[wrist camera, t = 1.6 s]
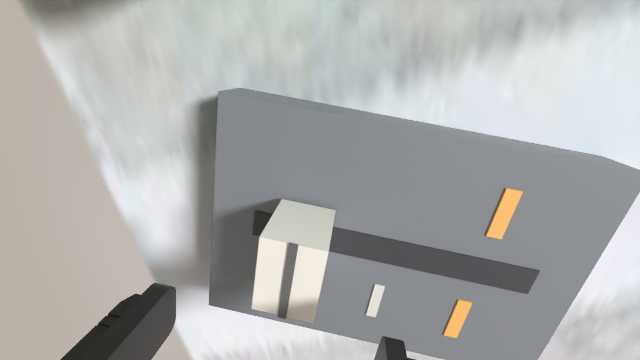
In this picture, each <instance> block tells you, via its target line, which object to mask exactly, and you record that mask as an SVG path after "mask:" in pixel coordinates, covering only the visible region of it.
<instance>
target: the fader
mask: <svg viewBox="0 0 640 360" xmlns="http://www.w3.org/2000/svg"><path fill="white" fill-rule="evenodd" d="M335 211H336V210H333V209H328V208H323V207H318V206H313V205H309V204H304V203H299V202H294V201H289V200H285V199H282V200H281V201H280V203H279V205H278V206H277V208H276V210H275V211H274V213H273V215H272V217H271V218H270V220H269V222H268V223H267V225H266V227H265V228H264V230H263V232H262V234H261V235H260V237H259V246H258V255H257V264H256V273H255V282H254V291H253V300H252V309H254V310H259V311H263V312H267V313H272V314H276V315H278V318H282V319H286V317H289V318H294V319H298V320H302V321H307V322H311V323H314V319H315V314H316V309H317V305H318V300H319V295H320V290H321V286H322V281H323V276H324V272H325V267H326V262H327V258H328V253H329V247H330V241H331V235H332V229H333V223H334V217H335Z"/></svg>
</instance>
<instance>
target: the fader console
mask: <svg viewBox="0 0 640 360" xmlns="http://www.w3.org/2000/svg"><path fill="white" fill-rule="evenodd" d="M639 192H640V170H638V169H635V168H632V167H630V166H627V165H624V164H622V163H619V162H616V161H613V160H611V159H608V158H605V157H602V156H597V155H592V154H587V153H581V152H576V151H571V150H565V149H560V148H555V147H550V146H544V145H539V144H534V143H528V142H523V141H518V140H513V139H507V138H502V137H497V136H491V135H486V134H481V133H476V132H470V131H465V130H460V129H454V128H449V127H444V126H439V125H433V124H428V123H423V122H417V121H412V120H407V119H402V118H396V117H391V116H386V115H380V114H375V113H370V112H365V111H359V110H354V109H349V108H343V107H338V106H333V105H328V104H322V103H317V102H312V101H306V100H301V99H296V98H291V97H285V96H280V95H275V94H269V93H264V92H259V91H254V90H248V89H243V88H237V89H231V90H225V91H219V92H218V106H217V129H216V152H215V175H214V198H213V221H212V244H211V267H210V290H209V305H211V306H215V307H220V308H224V309H228V310H233V311H237V312H241V313H246V314H250V315H254V316H259V317H263V318H267V319H272V320H276V321H280V322H285V323H289V324H294V325H298V326H302V327H307V328H311V329H315V330H320V331H324V332H328V333H333V334H337V335H341V336H346V337H350V338H354V339H359V340H363V341H367V342H372V343H376V344H380V341H381V338H382V336H386V337H390V338H394V339H399V340H403V341H404V344H405V349H406V351H411V352H415V353H419V354H424V355H428V356H432V357H437V358H441V359H445V360H538V358H539V357H540V355H541V353H542V352H543V350H544V348H545V347H546V345H547V344H548V342H549V340H550V339H551V337H552V335H553V334H554V332H555V330H556V329H557V327H558V325H559V324H560V322H561V321H562V319H563V317H564V316H565V314H566V312H567V311H568V309H569V307H570V306H571V304H572V302H573V301H574V299H575V297H576V296H577V294H578V293H579V291H580V289H581V288H582V286H583V284H584V283H585V281H586V279H587V278H588V276H589V274H590V273H591V271H592V269H593V268H594V266H595V265H596V263H597V261H598V260H599V258H600V256H601V255H602V253H603V251H604V250H605V248H606V246H607V245H608V243H609V242H610V240H611V238H612V237H613V235H614V233H615V232H616V230H617V228H618V227H619V225H620V223H621V222H622V220H623V218H624V217H625V215H626V214H627V212H628V210H629V209H630V207H631V205H632V204H633V202H634V200H635V199H636V197H637V195H638V194H639ZM282 199H285V200H289V201H294V202H299V203H304V204H309V205H313V206H318V207H323V208H328V209H333V210H336V211H335V217H334V223H333V229H332V235H331V241H330V247H329V253H328V258H327V262H326V267H325V272H324V276H323V281H322V286H321V290H320V295H319V300H318V305H317V309H316V314H315V319H314V323H311V322H307V321H302V320H298V319H294V318H289V317H286V319H282V318H278V315H276V314H272V313H267V312H263V311H259V310H254V309H252V300H253V291H254V282H255V273H256V264H257V255H258V246H259V237H260V235H261V234H262V232H263V230H264V228H265V227H266V225H267V223H268V222H269V220H270V218H271V217H272V215H273V213H274V211H275V210H276V208H277V206H278V205H279V203H280V201H281V200H282Z"/></svg>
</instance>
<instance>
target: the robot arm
mask: <svg viewBox="0 0 640 360" xmlns="http://www.w3.org/2000/svg"><path fill="white" fill-rule="evenodd" d="M175 319H176V289H175V287H172V286H167V285H163V284H159V283H153V284H152V285H151V286H150V287H149V288H148V289H147V290H146V291H145V292H144V293H143V294H142V295H139V294H134V295H133V296H130V297H129V298H127V299H125V300H123V301H121V302H120V303H119V304H118V305H117V306H116V307H115V308H114V309H113V310H112V311H110V312H109V314H108V316H105V317H104V318H103V319H102V320H101V321H100V322H99V323H98V325H97V326H95V327H94V328H93V329H92V330H91V331H90V332H89V333H88V334H87V335H86V336H85V337H83V338H82V340H80V341H79V342H78V343H77V344H76V345H75V346H74V347H73V348H72V349H71V350H70V351H69V352H68V353H67V354H66V355H65V356H64V357H63V358H62V359H61V360H151V359H152V358H153V356H154V355H155V354H156V352H157V351H158V349H159V348H160V347H161V345H162V344H163V342H164V341H165V340H166V338H167V337H168V336H169V334H170V332H171V331H172V328H173V326H174V323H175ZM374 360H414V359H410V358H407V355H406V349H405V344H404V341H403V340H399V339H394V338H390V337H386V336H382V338H381V341H380V344H379V347H378V350H377V353H376V356H375V359H374Z"/></svg>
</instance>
